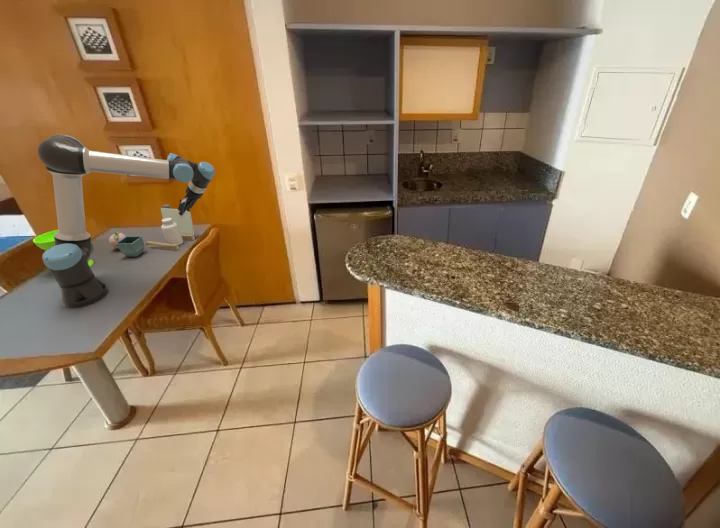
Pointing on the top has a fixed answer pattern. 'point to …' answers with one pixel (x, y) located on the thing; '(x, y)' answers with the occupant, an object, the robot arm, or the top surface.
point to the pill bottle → (171, 231)
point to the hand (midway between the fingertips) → (179, 217)
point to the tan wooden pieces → (167, 245)
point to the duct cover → (179, 220)
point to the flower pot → (131, 246)
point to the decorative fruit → (116, 238)
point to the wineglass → (49, 242)
